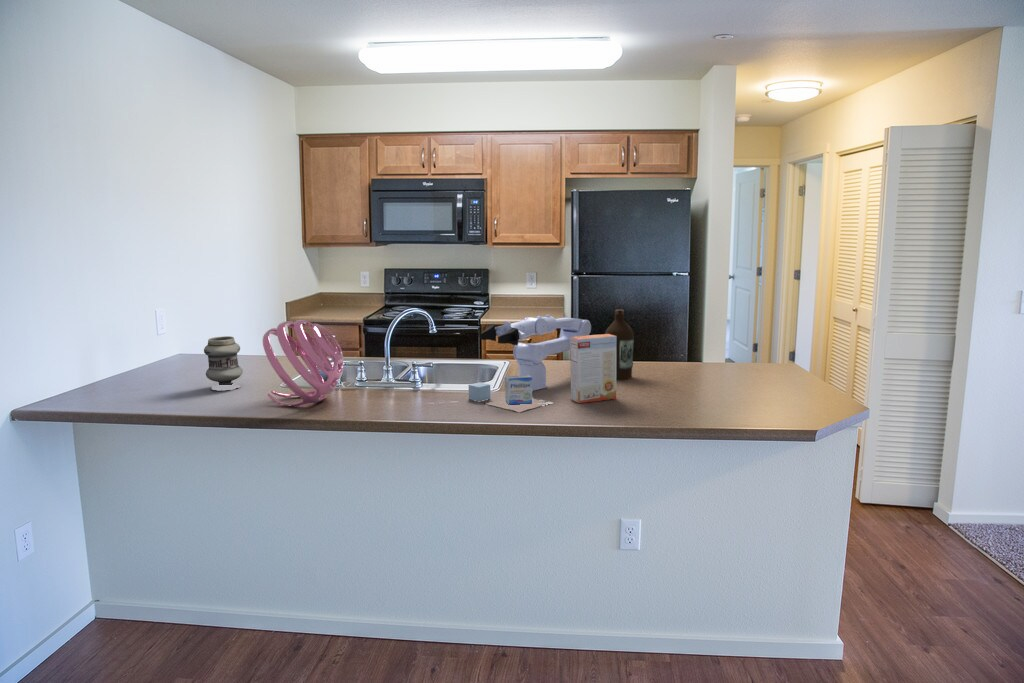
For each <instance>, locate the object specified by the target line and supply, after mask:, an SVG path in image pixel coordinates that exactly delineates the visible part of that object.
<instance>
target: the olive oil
mask: <svg viewBox="0 0 1024 683" xmlns="http://www.w3.org/2000/svg"><path fill="white" fill-rule="evenodd" d="M614 312H615V313H614V321H612V323H611V324H610V325H609V326H608V327H607V328H606V330H605V333H604V334H611V335H614V336H617V342H616V381H624V380H625V381H626V380H630V379H632V376H633V372H632V371H633V366H634V362H633V358H634V346H635V345H634V343H635V342H634V341H635V334H634V331H633V329H632V327H630V325H629V324H628V323H627V322H626V321H625V309H615V310H614Z"/></svg>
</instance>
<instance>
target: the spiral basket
mask: <svg viewBox="0 0 1024 683" xmlns="http://www.w3.org/2000/svg"><path fill="white" fill-rule="evenodd" d="M303 324H304V325H306V326H307V327H308V328H310V329H311V332H312V334H313V336H314V337H313V336H312V335H311V334H310V333H309V332H308V331H307V330H305V329H304V326H303ZM286 327H289V328H291V329H293V330H294V334H295V335H296V338H297V340H296V339H295V338H293V337H292V336H291V335H289V334H288V333H287V332H286V330H285V329H286ZM322 331H323V332H324V333H325V334H324V333H323V332H322ZM270 335H273V336H276V337H277V340H278V342H279V345H280V347H281V350H282V351H283V353H284V355H285V357H286V358H287V360H288V361H289V362H290V364H291V365H292V367H293V368H294V369H295V371H296V372H297V373H298V374H299V375H300V377H301V378H303V380H304V381H305V382H306V383H307V384H309V385H310V386H311V387H312V388H314V389H312V390H309V391H304V390H303V389H302V388H301V387H300V386H299V385H298V384H297V383H296V382H295V381H294V380H293V379H292V378H291V377H290V376H289V374H288V373H287V372H286V370H285V369H284V368H283V366H282V365H281V363H280V361H279V360H278V357H277V356H276V354H275V352H274V350H273V347H272V344H271V341H270V340H271V339H270ZM326 335H327V336H328V337H327V336H326ZM314 338H315V339H314ZM328 338H330V340H331V341H332V342H333V344H334V345H335V346H334V345H333V344H332V343H331V341H330V340H329V339H328ZM262 347H263V350H264V353H265V355H266V358H267V360H268V362H269V363H270V365H271V367H272V368H273V370H274V371H275V373H276V374H277V376H278V377H279V378H280V379H281V381H282V382H283V383H284V384H285V386H286V387H287V388H288V389H289V390H291V391H292V392H293V393H292V394H290V393H281V392H277V391H273V390H272V391H270V393H268V394H267V396H268V397H269V399H270V400H272V401H273V402H274V403H276V404H277V405H280V404H283V405H291V406H296V407H301V406H300V405H302V406H305V405H310V404H318V402H319V403H321V402H322V401H323V400H324V399H326V396H327V395H328V394H331V393H333V392H334V390H335V389H336V387H337V386H338V380H339V379H341V377H342V376H343V371H344V353H343V350H342V348H341V346H340V344H339V342H338V341H337V340H336V338H335V337H334V336H333V334H332V333H331V332H330V331H329V330H328V329H327V328H325V327H324V326H323V325H321V324H320V323H319V324H318V323H312V322H311V321H308V320H306V319H298V320H295V321H290V320H289V321H288V320H287V321H283V322H280V323H279V324H277V327H276V328H274V327H273V328H270V329H268V330H267V331H265V333H264V334H263V336H262ZM294 351H295V352H296V353H295V352H294ZM297 354H298V356H299V357H300V358H301V360H302V361H303V362H301V360H300V359H299V357H298V356H297ZM329 358H330V359H331V360H332V361H333V364H332V363H331V361H330V359H329ZM303 363H304V364H305V365H306V366H305V365H304V364H303ZM320 371H321V372H322V373H323V374H324V375H326V376H327V379H326V381H324V378H323V377H322V374H321V372H320ZM271 394H273V395H275V396H278V397H282V398H286V397H291V396H299V397H300V398H299V399H301V401H299V402H293V403H289V402H287V403H286V402H283V401H280V400H278V399H277V398H275V397H274V396H273V395H271ZM320 401H321V402H320ZM283 405H282V406H283Z"/></svg>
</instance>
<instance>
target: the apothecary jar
mask: <svg viewBox="0 0 1024 683" xmlns="http://www.w3.org/2000/svg"><path fill="white" fill-rule="evenodd" d="M240 350H241V346H240V344H239V343H237V342H236V341H235V337H234V336H225V335H224V336H215V337H211V338H208V340H207V345H205V347H204V348H203V352H204V354H205V355H206V356H207V361H208V369H207V370H206V372H205V375H206V376H205V377H206V378H207V379H208V380H209V381H212V382H216V383H217V382H218V384H219V385H232V384H233V383H234V382H232V381H235V380H237V379H239V378H240V377H241V376H242V375H243V373H244V370H243V368H242V367H241V366H240V365H239V361H238V353H240Z"/></svg>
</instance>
